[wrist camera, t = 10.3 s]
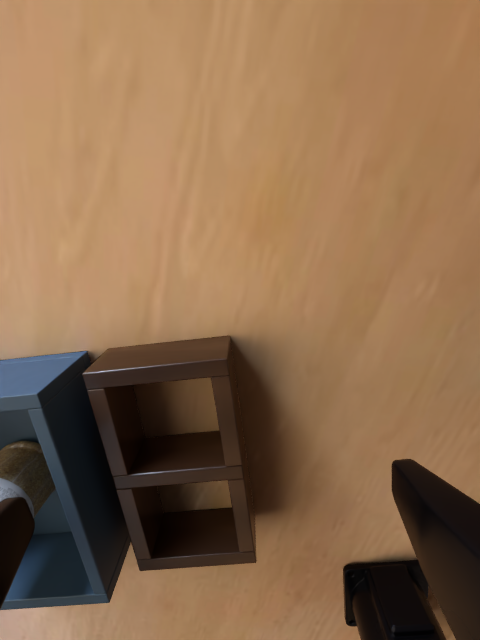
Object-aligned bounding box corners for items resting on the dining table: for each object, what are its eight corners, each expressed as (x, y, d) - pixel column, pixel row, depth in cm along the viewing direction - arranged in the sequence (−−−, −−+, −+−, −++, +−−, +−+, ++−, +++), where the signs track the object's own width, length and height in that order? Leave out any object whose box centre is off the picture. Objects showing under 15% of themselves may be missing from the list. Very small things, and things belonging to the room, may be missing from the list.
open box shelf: (137, 525, 25) (109, 603, 20) (-8, 536, 26) (-69, 614, 21) (88, 350, 21) (37, 393, 16) (-85, 369, 21) (-187, 416, 16)
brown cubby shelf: (255, 516, 25) (256, 563, 21) (153, 524, 25) (139, 571, 22) (230, 335, 20) (227, 358, 17) (107, 348, 21) (81, 373, 17)
